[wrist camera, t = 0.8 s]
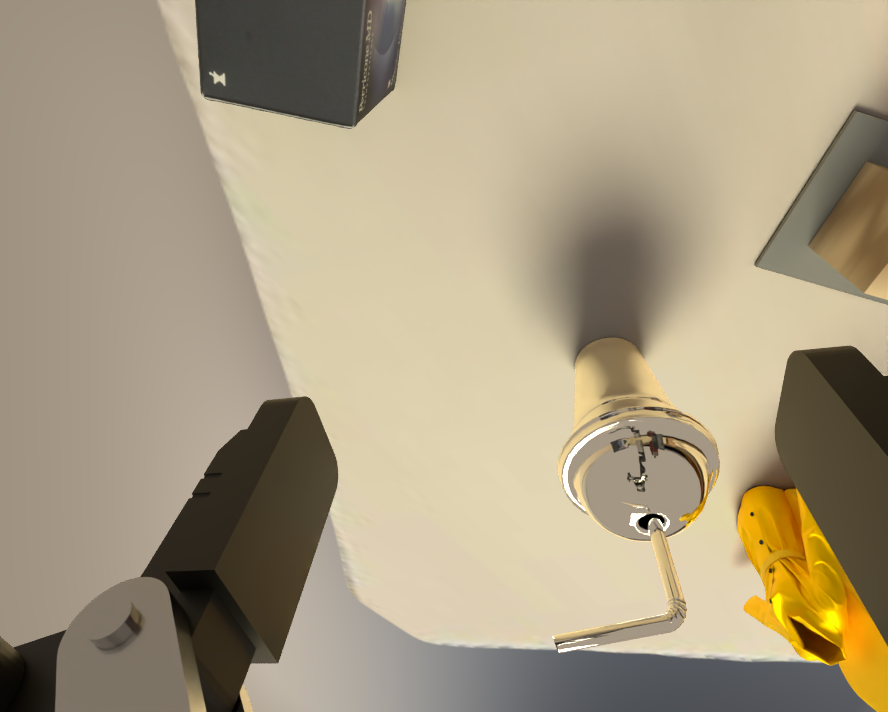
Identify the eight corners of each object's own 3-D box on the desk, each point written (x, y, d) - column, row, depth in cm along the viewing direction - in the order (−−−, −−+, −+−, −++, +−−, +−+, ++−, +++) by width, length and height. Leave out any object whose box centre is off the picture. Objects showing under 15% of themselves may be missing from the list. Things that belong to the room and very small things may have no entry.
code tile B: (853, 110, 28) (857, 111, 28) (1010, 159, 29) (1015, 161, 28) (754, 264, 33) (756, 266, 33) (889, 303, 34) (892, 306, 33)
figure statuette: (749, 428, 40) (952, 792, 22) (866, 425, 39) (1182, 807, 21) (710, 575, 50) (829, 912, 32) (803, 577, 49) (981, 927, 30)
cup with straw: (636, 424, 41) (726, 720, 24) (521, 391, 40) (534, 674, 24) (696, 332, 36) (858, 622, 19) (567, 293, 35) (622, 561, 19)
